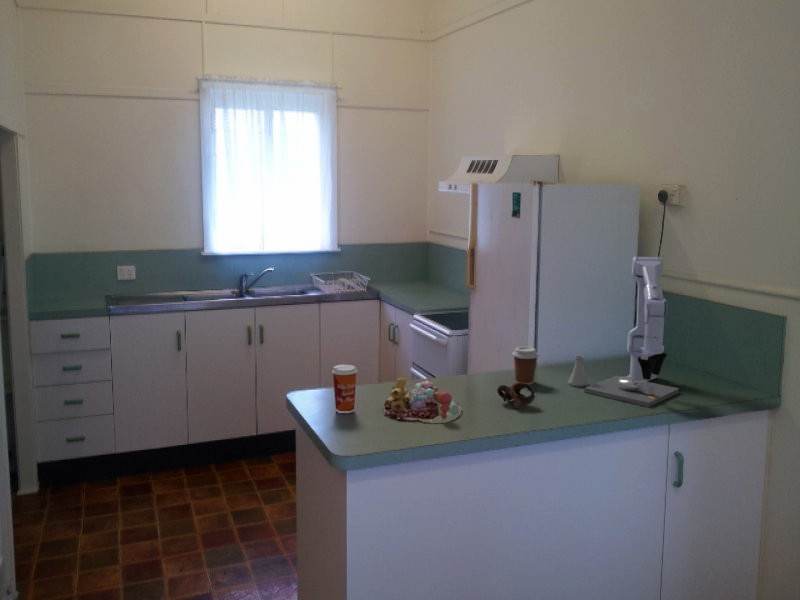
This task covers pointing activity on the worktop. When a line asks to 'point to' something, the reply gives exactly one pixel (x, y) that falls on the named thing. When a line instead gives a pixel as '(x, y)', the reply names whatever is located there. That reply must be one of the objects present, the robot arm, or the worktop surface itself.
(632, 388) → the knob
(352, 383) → the paper cup
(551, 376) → the worktop surface
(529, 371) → the coffee cup
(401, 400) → the candy landscape model
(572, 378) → the flask
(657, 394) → the base plate
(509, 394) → the brown pretzel
